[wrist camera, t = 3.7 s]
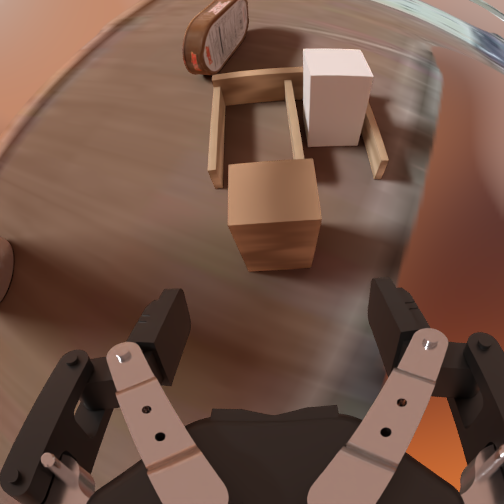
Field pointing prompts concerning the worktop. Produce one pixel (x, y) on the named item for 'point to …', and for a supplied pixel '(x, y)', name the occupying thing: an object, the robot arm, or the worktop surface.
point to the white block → (335, 96)
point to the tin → (214, 36)
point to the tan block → (274, 213)
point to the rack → (289, 89)
